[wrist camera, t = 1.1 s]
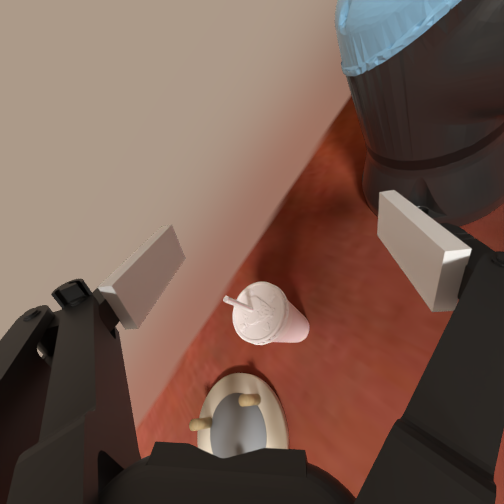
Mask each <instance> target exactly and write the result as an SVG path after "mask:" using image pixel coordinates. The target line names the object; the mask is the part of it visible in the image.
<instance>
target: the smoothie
mask: <svg viewBox="0 0 504 504" xmlns="http://www.w3.org/2000/svg"><path fill="white" fill-rule="evenodd" d="M223 301H224V302H226V303H228V304H231V305H233V306H234V309H233V324H234V328H235V330H236V332H237V334H238V335H239V336H240V337H241V338H242V339H243V340H245V341H247V342H250V343H252V344H255V345H264V344H267V343H270V342H301V341H303V340H304V339H305V338H306V337H307V335H308V333H309V323H308V320H307V319H306V317H305V316H304V315H302V314H301V313H300V312H299V311H298V310H297V309H296V308H295V307H294V306H293V305H292V304H291V303H290V302H289V301H288V300H287V298H286V296H285V294H284V292H283V291H282V290H281V289H280V288H279V287H277V286H275V285H273V284H271V283H268V282H256V283H253V284H251V285H249V286H248V287H246V288H245V289H244V290H243V291H242V292H241V293H240V295H239V296H238V298H237V300H235V299H232V298H230V297H228V296H225V297H224V299H223Z"/></svg>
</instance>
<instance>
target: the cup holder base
mask: <svg viewBox="0 0 504 504" xmlns="http://www.w3.org/2000/svg"><path fill="white" fill-rule="evenodd" d="M189 428H190V430H191V431H196V430H198V448H200V449H202V450H204V451H206V452H208V453H211V454H213V455H215V456H217V457H220V458H228V457H232V456H236V455H239V454H243V453H247V452H251V451H254V450H258V449H262V448H277V449H289V432H288V425H287V420H286V416H285V413H284V410H283V407H282V405H281V403H280V401H279V399H278V397H277V395H276V394H275V392H274V391H273V390H272V388H271V387H270V386H269V385H268V384H267V383H266V382H265V381H263V380H262V379H260V378H259V377H257V376H255V375H251V374H246V373H234V374H230V375H228V376H225V377H224V378H222V379H221V380H220V381H218V382H217V383H216V384H215V385H214V386H213V388H212V389H211V390H210V392H209V394H208V395H207V397H206V399H205V401H204V404H203V407H202V410H201V413H200V418H198V419H192V420H191V421H190V424H189Z"/></svg>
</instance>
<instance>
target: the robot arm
mask: <svg viewBox="0 0 504 504" xmlns="http://www.w3.org/2000/svg"><path fill="white" fill-rule="evenodd" d="M335 27H336V32H337V38H338V43H339V48H340V53H341V59H342V62H341V65H342V71H343V73H344V74H345V75H346V77H347V81H348V84H349V87H350V91H351V95H352V98H353V102H354V105H355V109H356V112H357V115H358V119H359V122H360V126H361V129H362V133H363V136H364V140H365V143H366V146H367V153H366V159H365V166H364V171H363V175H362V188H363V192H364V195H365V198H366V201H367V203H368V205H369V207H370V209H371V210H372V211H373V213H374V214H375V215H377V216H378V232H377V235H378V237H379V238H380V240H381V241H382V242H383V244H384V245H385V247H386V248H387V249H388V251H389V252H390V254H391V255H392V256H393V258H394V259H395V261H396V262H397V263H398V265H399V266H400V268H401V269H402V270H403V272H404V273H405V275H406V276H407V277H408V279H409V280H410V282H411V283H412V284H413V286H414V287H415V289H416V290H417V291H418V293H419V294H420V296H421V297H422V298H423V300H424V301H425V303H426V304H427V305H428V307H429V308H430V310H431V311H432V312H440V311H454V312H453V314H452V316H451V318H450V320H449V322H448V324H447V326H446V328H445V330H444V332H443V334H442V336H441V338H440V340H439V343H438V345H437V347H436V349H435V351H434V353H433V355H432V357H431V359H430V361H429V363H428V365H427V367H426V369H425V371H424V373H423V375H422V377H421V379H420V381H419V383H418V385H417V388H416V390H415V392H414V394H413V396H412V398H411V400H410V402H409V404H408V406H407V408H406V410H405V412H404V414H403V416H402V417H401V419H397V421H396V422H395V424H394V425H393V427H392V429H391V431H390V432H389V434H388V436H387V438H386V440H385V442H384V444H383V446H382V448H381V450H380V452H379V454H378V456H377V458H376V460H375V462H374V464H373V466H372V468H371V470H370V472H369V474H368V476H367V478H366V480H365V482H364V484H363V486H362V488H361V490H360V492H359V494H358V496H357V498H355V497H354V496H353V495H352V493H351V492H350V491H349V490H348V489H347V488H346V487H345V486H344V485H343V484H342V483H340V482H339V481H338V480H337V479H336V478H334V477H333V476H332V475H330V474H329V473H328V472H326V471H324V470H322V469H321V468H319V467H317V466H315V465H312V464H310V463H308V461H307V457H306V452H305V450H295V449H277V448H262V449H258V450H254V451H251V452H247V453H243V454H239V455H236V456H232V457H228V458H220V457H217V456H215V455H213V454H211V453H208V452H206V451H204V450H202V449H200V448H197V447H195V446H193V445H191V444H188V443H170V442H155V445H154V447H153V450H152V452H151V455H150V456H147V457H145V458H143V459H141V457H140V453H139V449H138V443H137V437H136V431H135V425H134V419H133V413H132V407H131V402H130V396H129V390H128V384H127V378H126V372H125V366H124V360H123V354H122V349H121V342H120V337H119V332H118V330H117V329H116V327H115V326H116V325H117V324H118V322H119V321H120V322H121V324H122V325H123V327H124V328H125V329H138V328H139V327H140V325H141V324H142V322H143V321H144V319H145V318H146V316H147V315H148V313H149V312H150V311H151V309H152V307H153V306H154V304H155V303H156V302H157V300H158V299H159V297H160V296H161V294H162V293H163V291H164V290H165V288H166V287H167V285H168V284H169V282H170V281H171V279H172V277H173V276H174V275H175V273H176V272H177V270H178V269H179V267H180V266H181V264H182V263H183V261H184V260H185V256H184V254H183V251H182V248H181V247H180V244H179V241H178V239H177V236H176V234H175V231H174V229H173V226H172V225H167V226H162V227H160V228H159V229H158V230H157V231H156V232H155V233H154V234H153V235H152V236H151V237H150V238H149V239H148V240H147V241H146V242H145V243H144V244H142V246H140V247H139V248H138V249H137V250H136V251H135V252H134V253H133V254H132V255H131V256H130V257H129V258H128V259H127V260H126V261H125V262H124V263H122V264H121V265H120V266H119V267H118V268H117V269H116V270H115V271H114V272H113V273H112V274H111V275H110V276H109V277H108V278H107V279H106V280H104V281H103V282H102V283H101V284H100V285H99V286H98V288H97V289H96V290H95V291H94V292H93V293H92V292H91V291H90V289H89V288H88V286H87V285H86V284H85V282H84V280H83V279H75V280H72V281H69V282H67V283H65V284H63V285H61V286H60V287H58V288H57V289H55V290H54V291H53V293H52V296H53V297H54V299H55V300H56V301H57V302H58V304H59V305H60V306H61V307H62V310H60V311H56V312H52V311H51V309H50V308H49V307H48V306H47V305H42V306H38V307H36V308H32V309H30V310H28V311H27V312H25V313H24V314H23V315H22V316H20V318H18V319H17V320H16V321H15V323H14V324H13V325H12V327H11V328H10V329H9V330H8V332H7V333H6V334H5V335H4V337H3V338H2V339H1V340H0V504H495V499H496V485H495V483H494V481H493V480H494V471H495V466H496V461H497V457H498V452H499V447H500V443H501V438H502V434H503V429H504V252H495V251H493V250H492V249H490V248H489V247H488V246H486V245H485V244H483V243H482V242H480V241H479V240H477V239H476V238H475V239H474V237H473V236H472V235H470V234H467V232H466V231H464V230H463V229H461V228H460V227H459V226H462V225H465V224H468V223H471V222H473V221H476V220H478V219H480V218H482V217H484V216H486V215H487V214H489V213H491V212H492V211H494V210H495V209H497V208H498V207H499V206H500V205H502V204H503V203H504V0H338V2H337V6H336V12H335ZM458 299H459V302H458V304H457V301H458ZM456 305H457V306H456ZM37 348H38V349H39V351H40V352H42V354H43V356H42V358H41V357H40V356H39V354H38V352H37Z"/></svg>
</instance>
